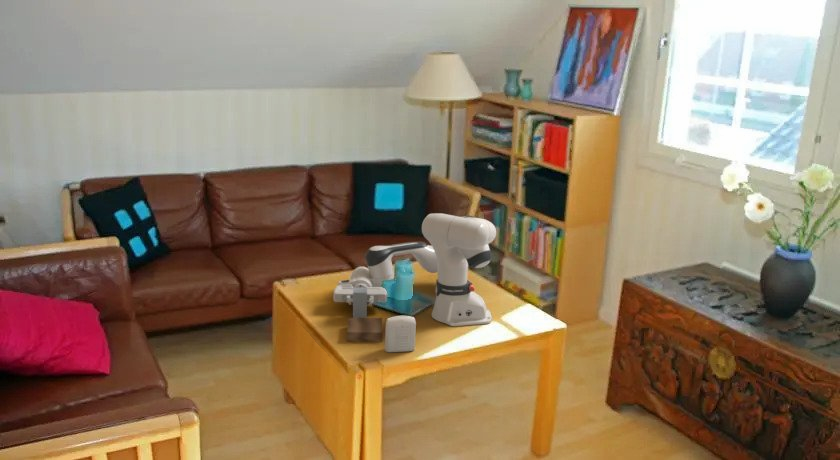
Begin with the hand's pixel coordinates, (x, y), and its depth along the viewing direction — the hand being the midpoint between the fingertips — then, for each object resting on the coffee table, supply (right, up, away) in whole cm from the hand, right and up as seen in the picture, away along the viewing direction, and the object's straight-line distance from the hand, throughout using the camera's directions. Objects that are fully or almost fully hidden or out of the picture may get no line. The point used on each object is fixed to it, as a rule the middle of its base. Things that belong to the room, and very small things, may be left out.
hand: (359, 303), depth 267 cm
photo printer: (+15, -14, -22) cm, 30 cm away
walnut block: (+3, -10, -11) cm, 15 cm away
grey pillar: (0, -6, +2) cm, 6 cm away
